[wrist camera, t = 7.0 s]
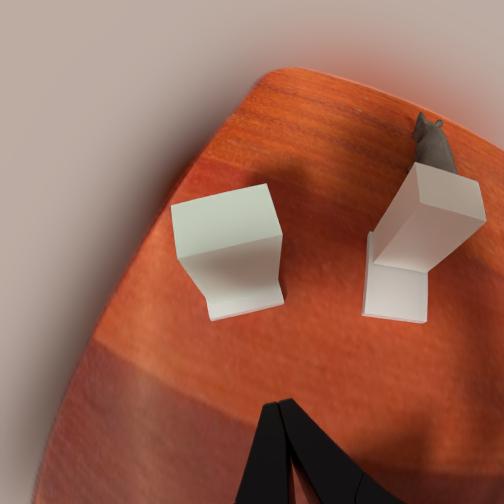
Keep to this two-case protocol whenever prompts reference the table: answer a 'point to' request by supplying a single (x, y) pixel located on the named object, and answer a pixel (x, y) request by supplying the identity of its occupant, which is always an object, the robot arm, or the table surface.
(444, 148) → the rhino figurine
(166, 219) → the table surface
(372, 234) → the plinth
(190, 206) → the key two
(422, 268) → the key one
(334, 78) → the table surface
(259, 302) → the plinth
